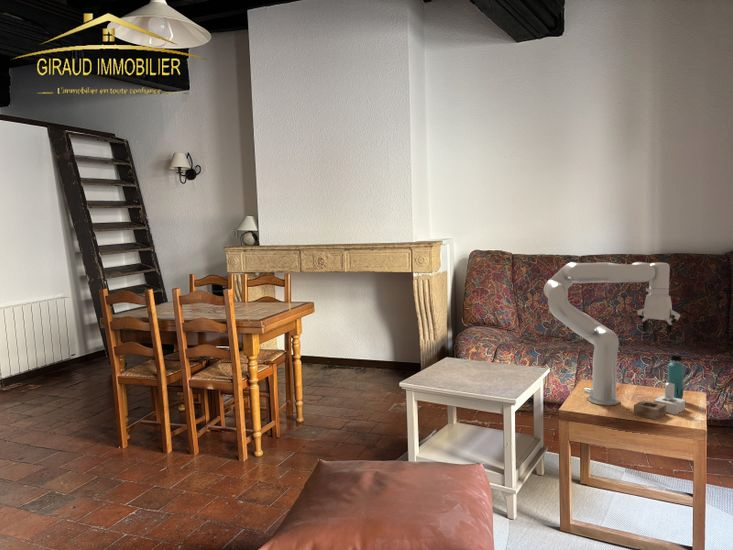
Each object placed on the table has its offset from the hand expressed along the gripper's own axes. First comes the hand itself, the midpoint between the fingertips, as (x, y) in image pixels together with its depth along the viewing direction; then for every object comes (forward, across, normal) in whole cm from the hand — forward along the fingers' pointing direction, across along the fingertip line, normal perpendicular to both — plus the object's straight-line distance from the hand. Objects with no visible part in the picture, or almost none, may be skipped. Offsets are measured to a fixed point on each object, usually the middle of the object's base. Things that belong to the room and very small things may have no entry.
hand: (657, 332), depth 259 cm
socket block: (+30, +5, -18) cm, 36 cm away
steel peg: (+30, +8, -6) cm, 32 cm away
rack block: (+30, +8, -6) cm, 32 cm away
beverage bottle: (+31, +5, +8) cm, 32 cm away
